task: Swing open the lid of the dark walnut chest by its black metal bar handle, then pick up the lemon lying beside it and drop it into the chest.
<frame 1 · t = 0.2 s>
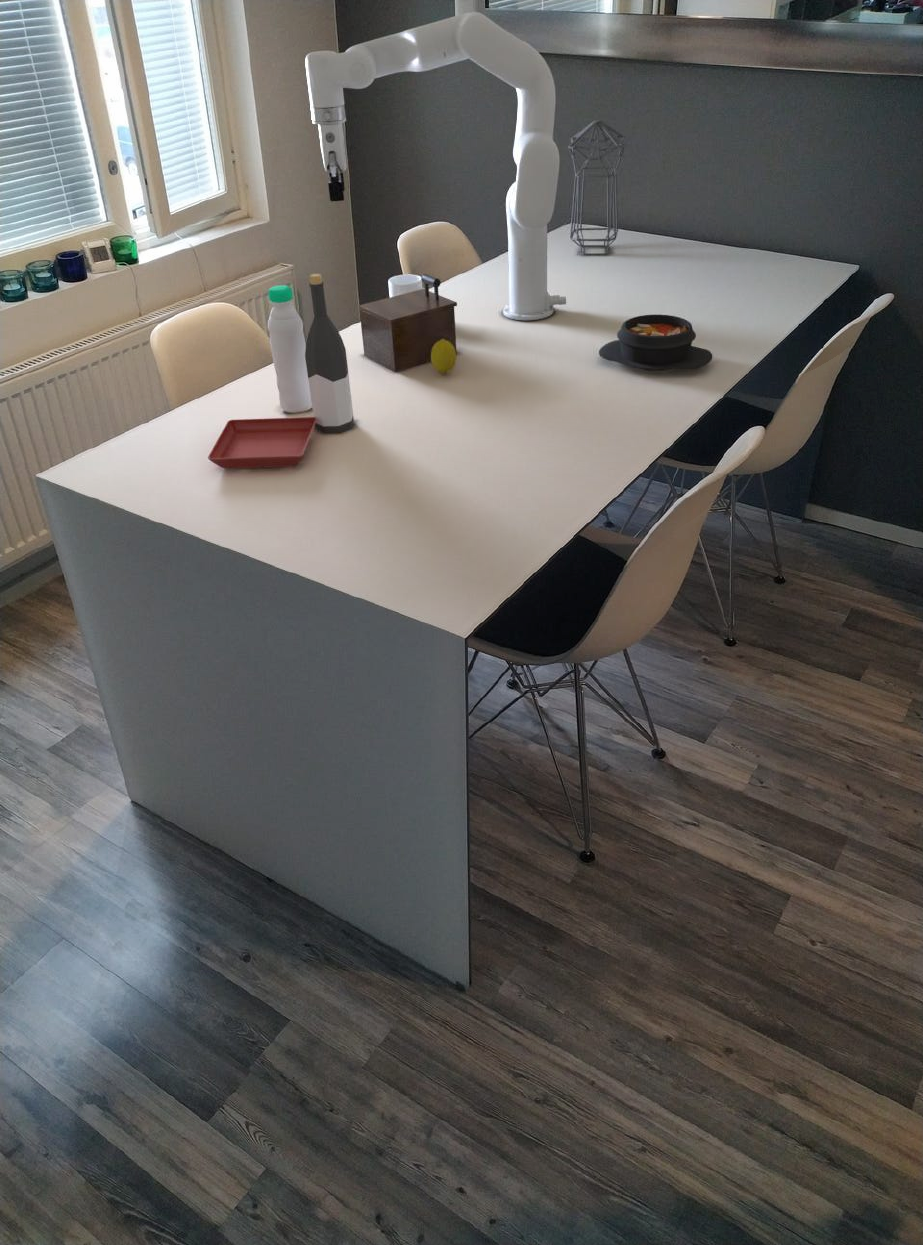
hand: (337, 196, 235), 31 cm above the table, tool pointing down, fingers open, 9 cm apart
mug: (414, 322, 254), on the table
wine bottle: (334, 426, 204), on the table
plant saucer: (266, 453, 195), on the table
chest: (410, 354, 235), on the table
geometric lantern: (594, 251, 298), on the table
lid: (407, 295, 227), point 14 cm above the table, hinge at 0.0°
water bottle: (297, 408, 213), on the table
lemon: (444, 375, 224), on the table
casserole: (654, 363, 224), on the table
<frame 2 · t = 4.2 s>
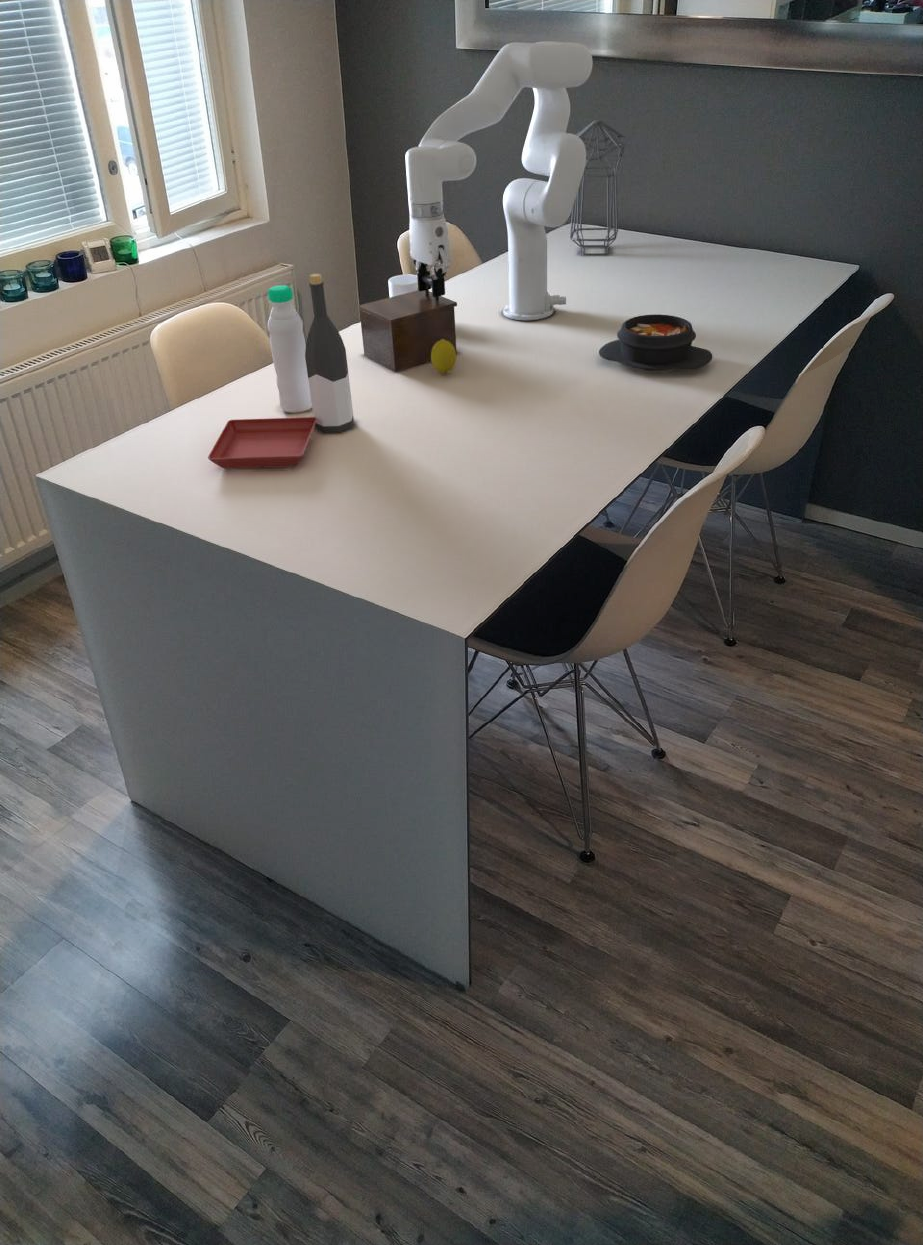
hand: (431, 292, 231), 13 cm above the table, tool pointing down, fingers closed on lid, 5 cm apart
lid: (407, 295, 227), point 14 cm above the table, hinge at 0.0°, touching gripper
everything else where it was.
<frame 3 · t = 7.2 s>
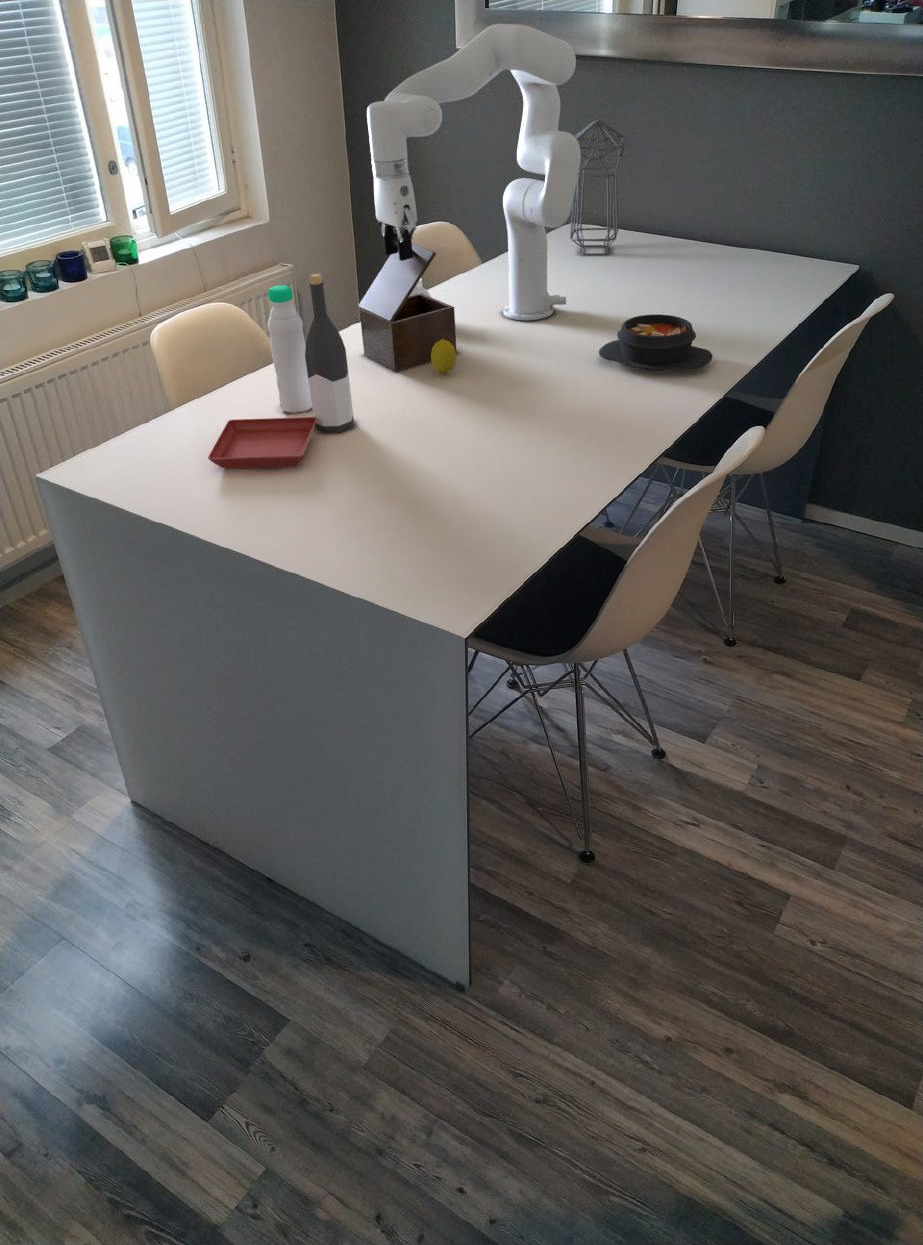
hand: (398, 255, 222), 23 cm above the table, tool pointing down, fingers closed on lid, 5 cm apart
lid: (389, 274, 222), point 19 cm above the table, hinge at 44.2°, touching gripper
everything else where it was.
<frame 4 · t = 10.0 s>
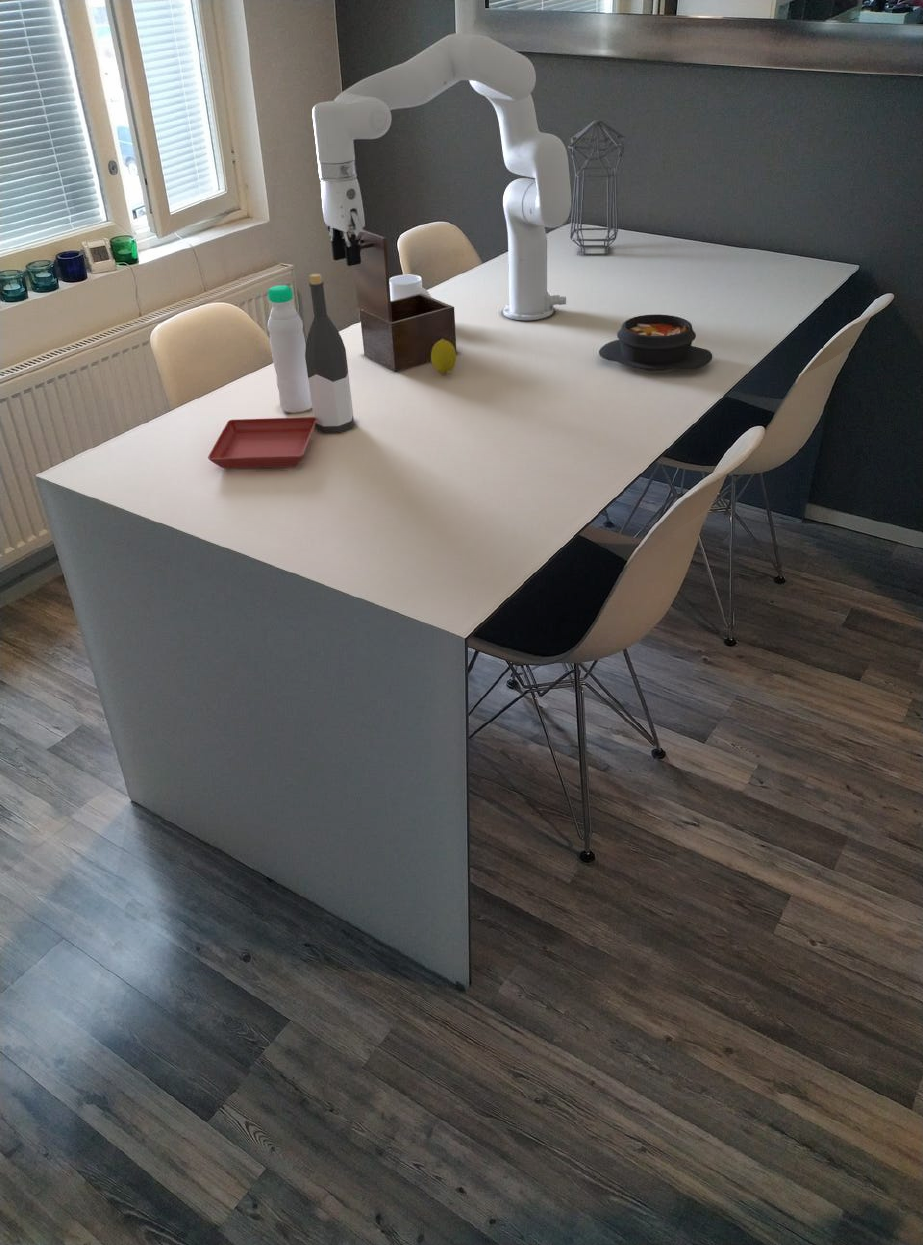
hand: (347, 260, 215), 24 cm above the table, tool pointing down, fingers closed on lid, 5 cm apart
lid: (361, 276, 219), point 20 cm above the table, hinge at 89.1°, touching gripper
everything else where it was.
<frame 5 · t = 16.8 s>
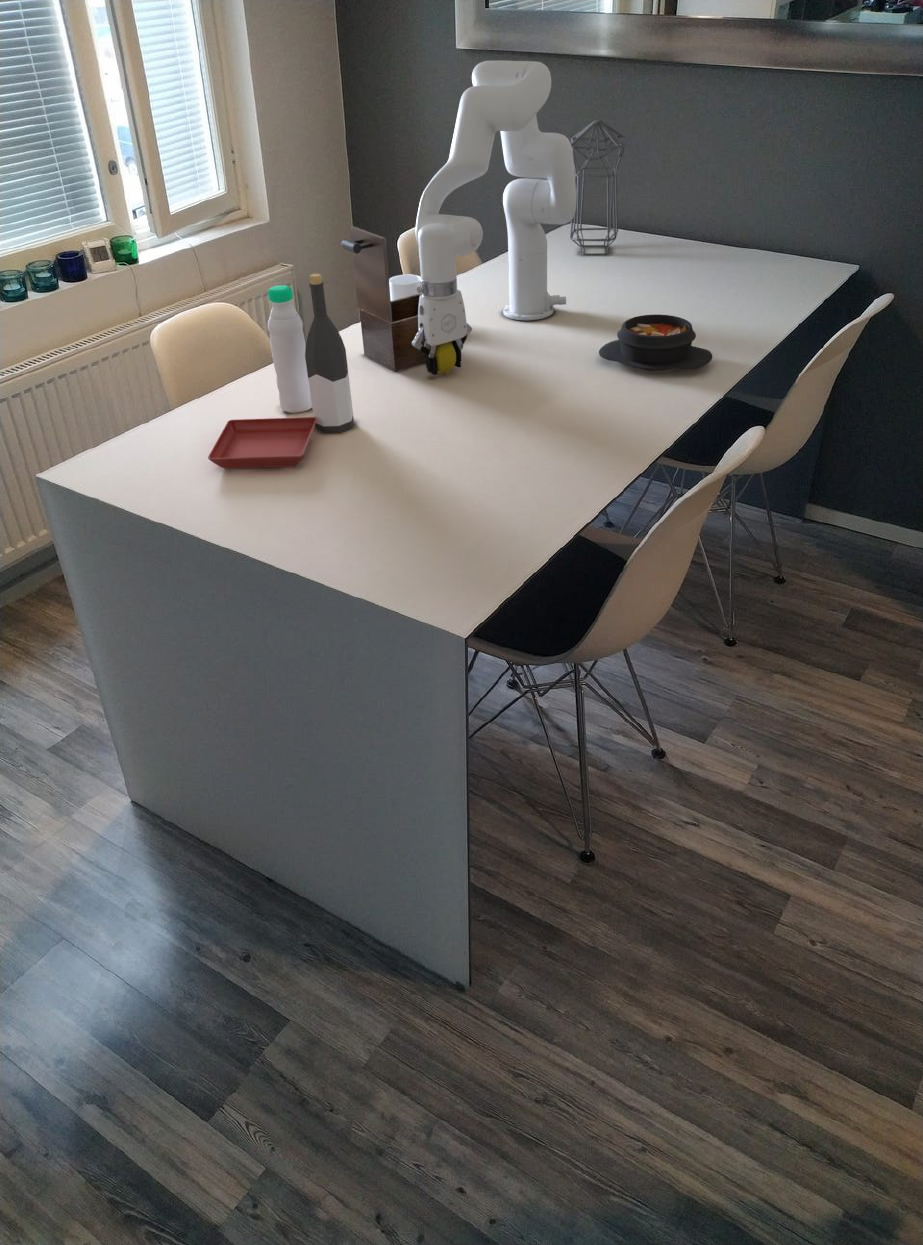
hand: (444, 368, 223), 1 cm above the table, tool pointing down, fingers closed on lemon, 5 cm apart
lid: (361, 276, 219), point 20 cm above the table, hinge at 89.4°
lemon: (444, 375, 224), on the table, touching gripper
everything else where it was.
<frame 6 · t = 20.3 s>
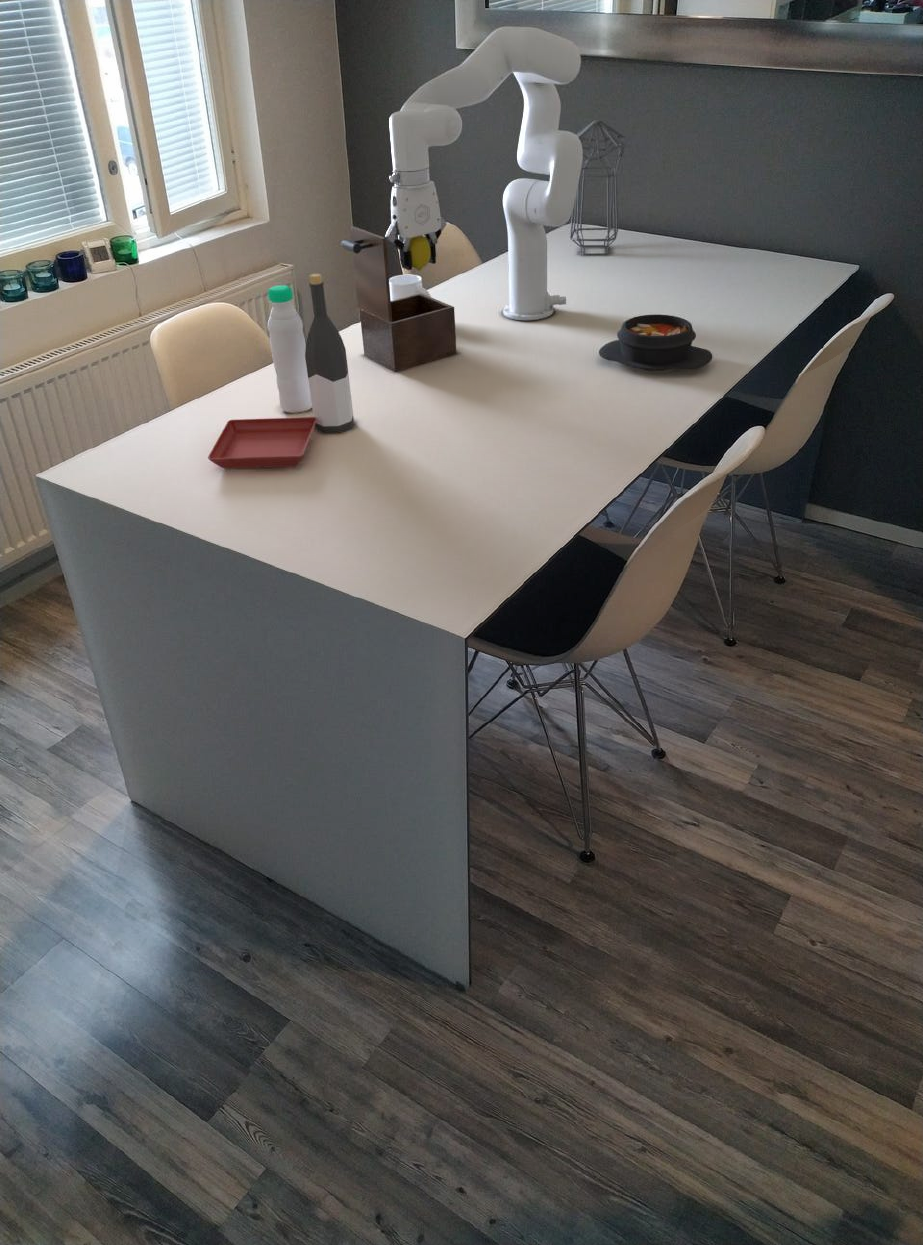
hand: (418, 264, 221), 21 cm above the table, tool pointing down, fingers closed on lemon, 5 cm apart
lemon: (419, 271, 221), point 20 cm above the table, touching gripper
everything else where it was.
when the fingers open (9 cm above the table, at t = 24.1 s): lemon drops 6 cm, resting on chest.
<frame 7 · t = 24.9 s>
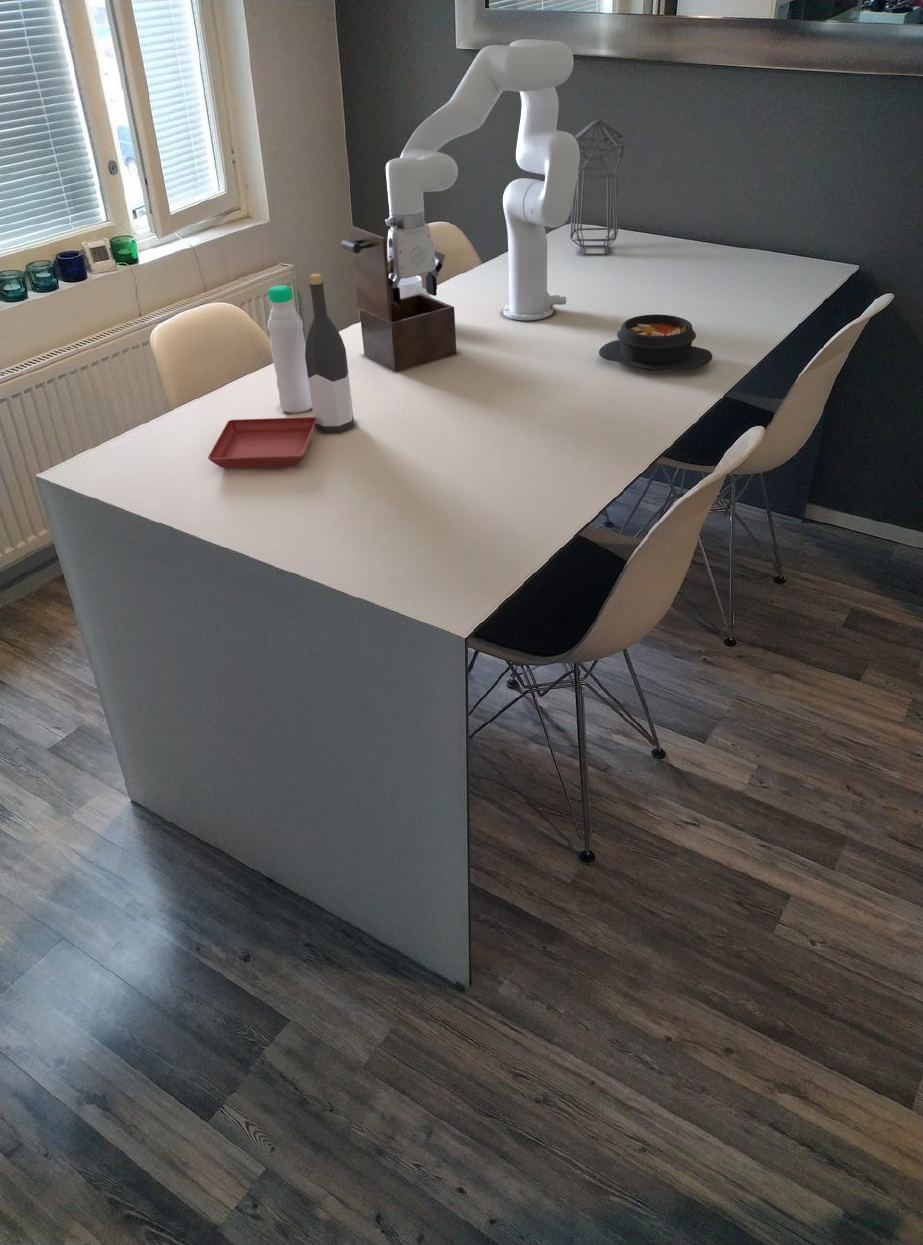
hand: (414, 299, 229), 12 cm above the table, tool pointing down, fingers open, 9 cm apart
lemon: (418, 346, 235), point 1 cm above the table, touching chest
everything else where it was.
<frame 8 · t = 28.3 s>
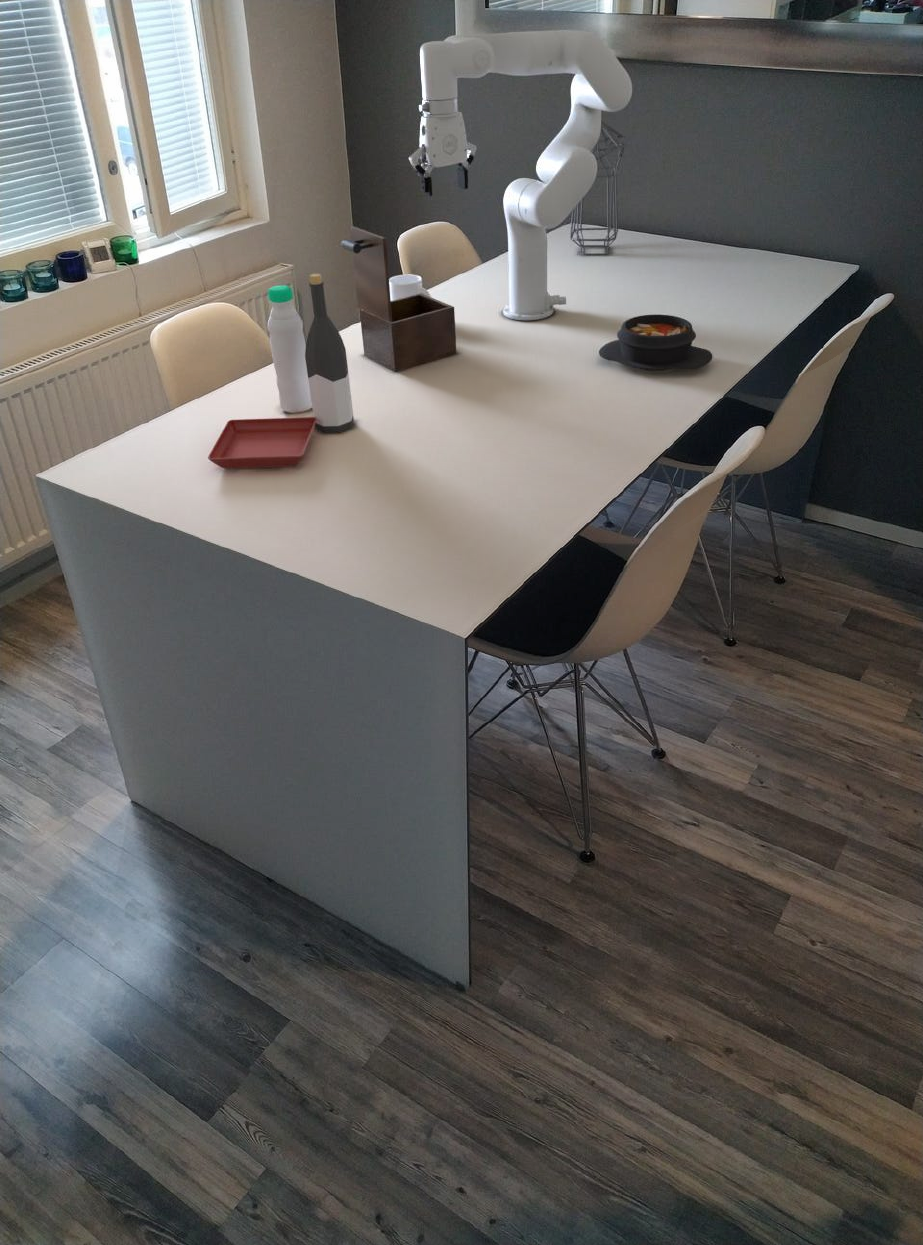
hand: (445, 191, 228), 32 cm above the table, tool pointing down, fingers open, 9 cm apart
nothing on the table moved.
at the end: lid at +89° (first picture: +0°); lemon inside the target area in the chest (2.4 cm from its centre), point 1.4 cm above the chest's base; the gripper is holding nothing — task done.
